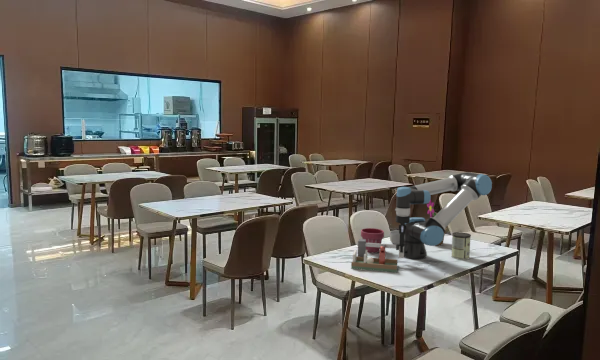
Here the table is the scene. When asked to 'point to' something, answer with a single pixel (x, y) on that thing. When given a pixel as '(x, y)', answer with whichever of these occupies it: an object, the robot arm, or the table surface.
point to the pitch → (362, 263)
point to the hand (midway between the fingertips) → (401, 255)
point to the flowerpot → (434, 215)
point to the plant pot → (372, 238)
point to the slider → (382, 249)
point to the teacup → (395, 236)
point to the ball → (370, 260)
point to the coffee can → (460, 245)
